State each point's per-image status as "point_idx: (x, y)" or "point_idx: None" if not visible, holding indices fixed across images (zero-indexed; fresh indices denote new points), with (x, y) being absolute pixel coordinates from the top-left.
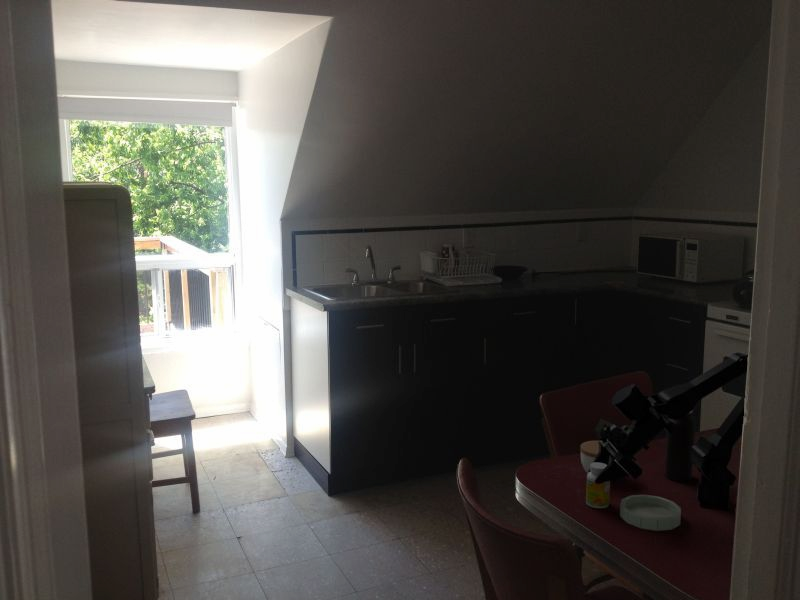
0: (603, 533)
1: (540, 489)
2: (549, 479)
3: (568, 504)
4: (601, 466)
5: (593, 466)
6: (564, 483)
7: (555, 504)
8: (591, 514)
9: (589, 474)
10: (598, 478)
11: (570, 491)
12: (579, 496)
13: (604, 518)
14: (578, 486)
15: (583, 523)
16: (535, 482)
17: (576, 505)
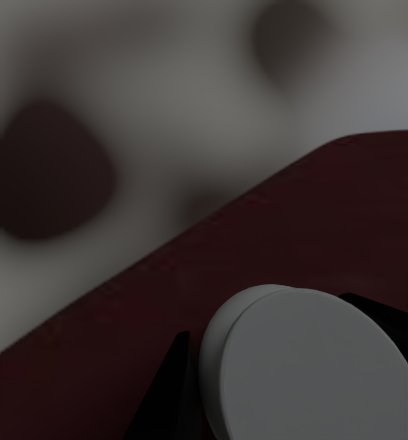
0: (14, 360)
1: (308, 174)
2: (402, 191)
3: (225, 248)
4: (294, 423)
5: (262, 317)
6: (397, 235)
7: (216, 213)
8: (159, 324)
9: (260, 296)
10: (166, 362)
11: (334, 254)
12: (303, 285)
13: (129, 376)
14: (399, 283)
15: (93, 292)
16: (353, 161)
17: (223, 273)
